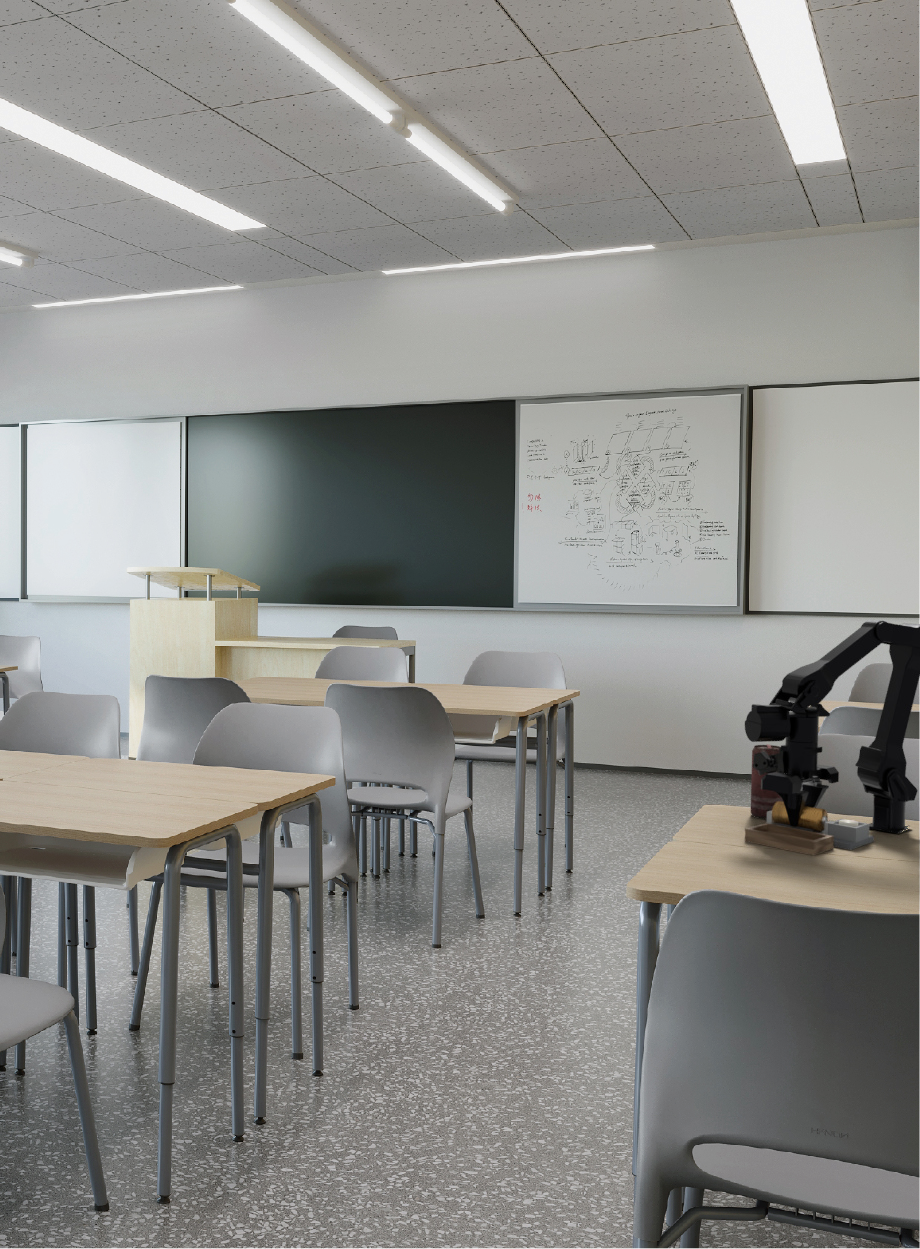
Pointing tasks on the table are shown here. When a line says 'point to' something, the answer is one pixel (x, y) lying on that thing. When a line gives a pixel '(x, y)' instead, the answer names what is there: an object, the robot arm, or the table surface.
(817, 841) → the trough
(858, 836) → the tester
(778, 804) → the cell
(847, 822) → the bulb
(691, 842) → the table surface
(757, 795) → the can
